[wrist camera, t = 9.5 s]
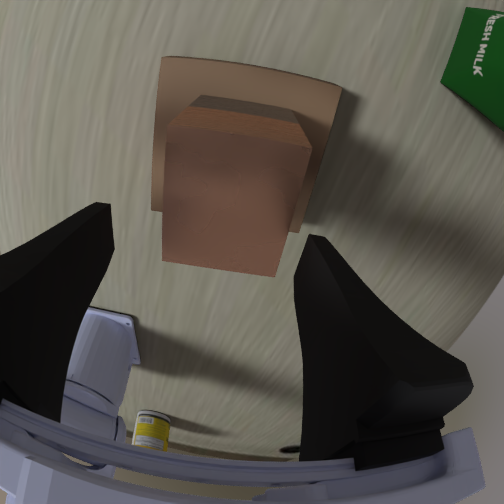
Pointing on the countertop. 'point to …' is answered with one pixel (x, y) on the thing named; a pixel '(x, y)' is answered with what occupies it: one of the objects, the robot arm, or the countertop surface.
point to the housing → (231, 184)
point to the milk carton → (479, 63)
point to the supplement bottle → (151, 430)
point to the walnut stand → (248, 89)
